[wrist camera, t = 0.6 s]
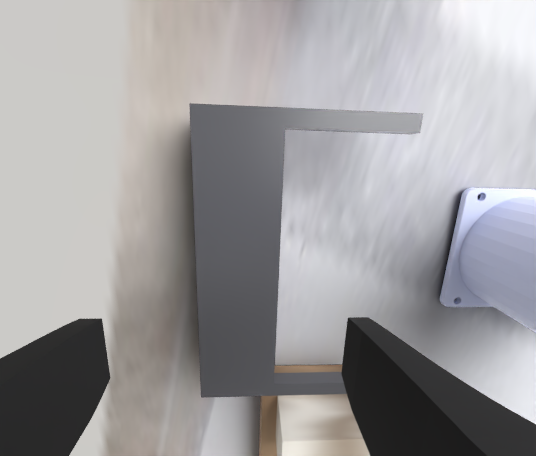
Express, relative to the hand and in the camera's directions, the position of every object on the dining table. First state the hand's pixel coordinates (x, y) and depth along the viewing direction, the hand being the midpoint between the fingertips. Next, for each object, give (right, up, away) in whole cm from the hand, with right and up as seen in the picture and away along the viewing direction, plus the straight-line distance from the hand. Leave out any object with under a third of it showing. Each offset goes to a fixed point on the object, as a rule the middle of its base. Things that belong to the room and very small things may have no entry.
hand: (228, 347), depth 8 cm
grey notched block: (+2, +2, +9) cm, 10 cm away
